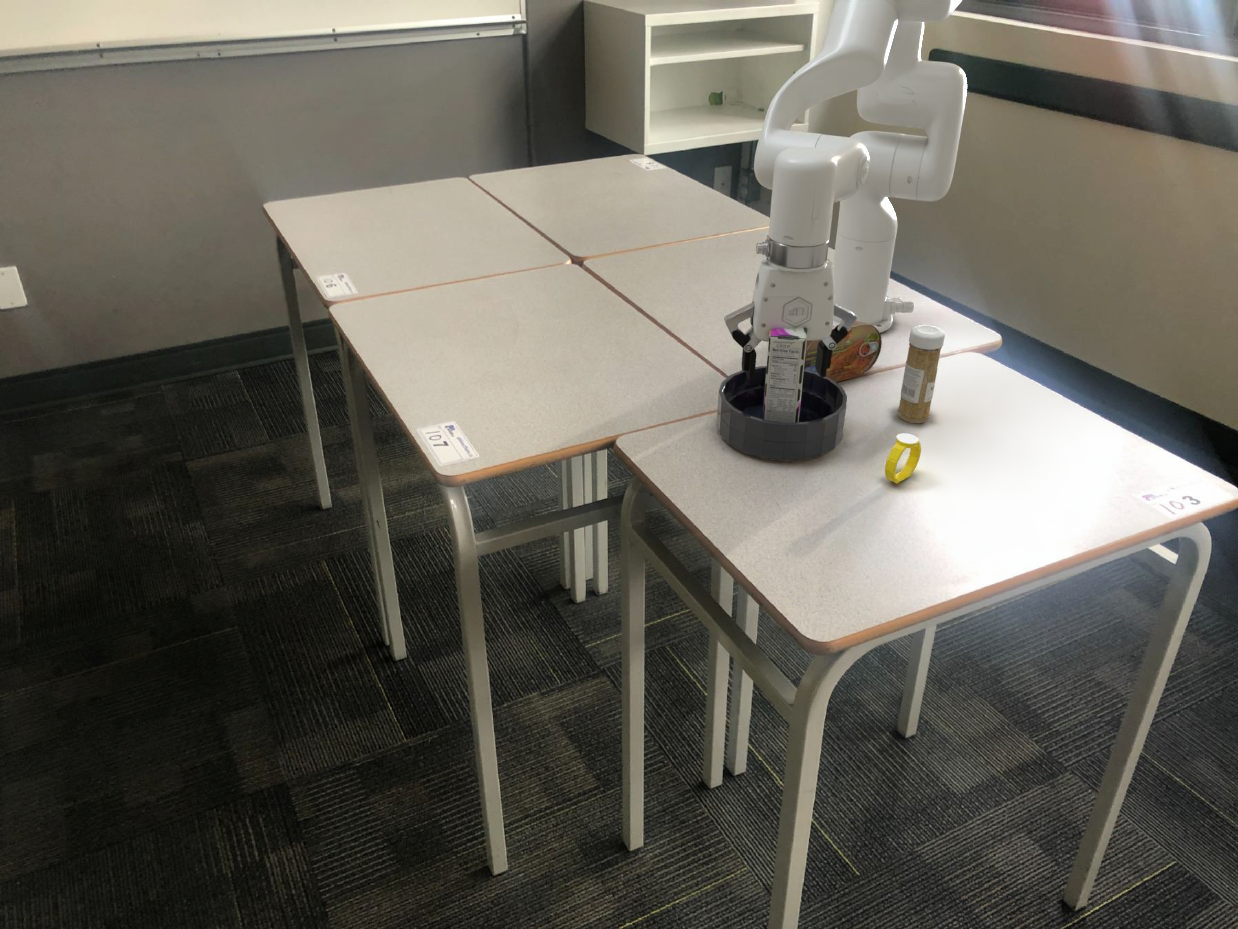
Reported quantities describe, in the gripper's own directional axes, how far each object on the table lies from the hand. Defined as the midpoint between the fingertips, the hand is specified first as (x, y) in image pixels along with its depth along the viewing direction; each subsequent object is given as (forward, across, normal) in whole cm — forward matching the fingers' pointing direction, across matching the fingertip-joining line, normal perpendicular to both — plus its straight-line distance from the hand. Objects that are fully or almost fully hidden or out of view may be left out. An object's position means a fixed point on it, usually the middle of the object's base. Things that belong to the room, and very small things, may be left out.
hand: (784, 373), depth 133 cm
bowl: (+9, 0, 0) cm, 9 cm away
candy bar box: (+8, 0, 0) cm, 9 cm away
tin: (+9, +12, +16) cm, 22 cm away
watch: (+9, +13, -13) cm, 21 cm away
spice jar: (+9, +20, +3) cm, 22 cm away
